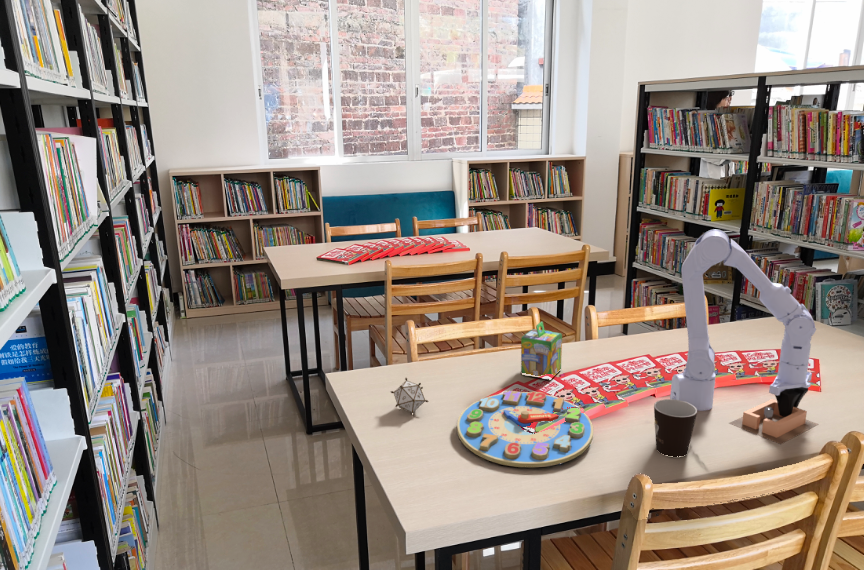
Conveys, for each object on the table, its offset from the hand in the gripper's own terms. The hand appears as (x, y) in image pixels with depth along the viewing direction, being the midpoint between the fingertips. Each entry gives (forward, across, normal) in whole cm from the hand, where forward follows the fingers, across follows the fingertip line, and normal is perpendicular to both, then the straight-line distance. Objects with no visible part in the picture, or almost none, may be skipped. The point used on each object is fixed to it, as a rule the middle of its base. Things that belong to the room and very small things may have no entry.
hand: (786, 415), depth 147 cm
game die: (+2, -69, +56) cm, 89 cm away
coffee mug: (+2, -31, +8) cm, 32 cm away
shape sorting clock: (+2, -54, +31) cm, 62 cm away
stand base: (+2, -5, 0) cm, 6 cm away
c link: (0, -5, 0) cm, 5 cm away
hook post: (0, -8, 0) cm, 8 cm away
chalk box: (+2, -26, +55) cm, 61 cm away
